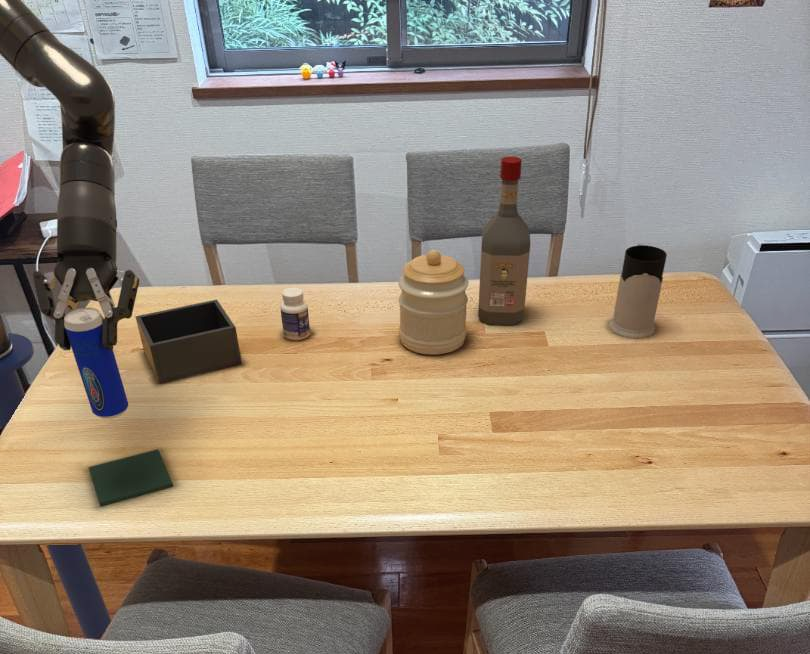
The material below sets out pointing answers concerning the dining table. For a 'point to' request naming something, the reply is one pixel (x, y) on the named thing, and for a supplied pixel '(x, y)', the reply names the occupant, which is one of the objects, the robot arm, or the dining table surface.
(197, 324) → the dark grey open box
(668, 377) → the dining table surface
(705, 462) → the dining table surface
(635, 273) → the glass holder
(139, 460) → the mat
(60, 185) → the robot arm
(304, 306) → the pill bottle
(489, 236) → the liquor
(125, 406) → the beverage can
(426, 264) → the jar
